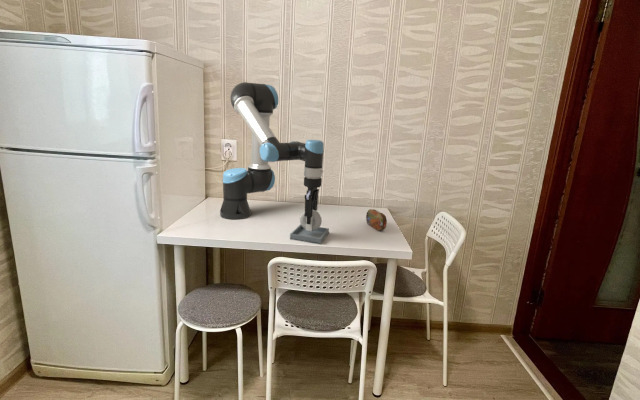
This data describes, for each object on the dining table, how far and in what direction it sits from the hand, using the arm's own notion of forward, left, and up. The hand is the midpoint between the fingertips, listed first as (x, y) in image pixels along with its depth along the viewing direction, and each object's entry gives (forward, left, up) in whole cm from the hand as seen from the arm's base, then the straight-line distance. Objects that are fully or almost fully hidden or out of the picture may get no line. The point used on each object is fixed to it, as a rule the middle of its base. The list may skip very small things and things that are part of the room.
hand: (310, 228), depth 150 cm
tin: (+26, +24, -4) cm, 36 cm away
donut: (0, 0, -1) cm, 1 cm away
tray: (0, 0, -3) cm, 3 cm away
